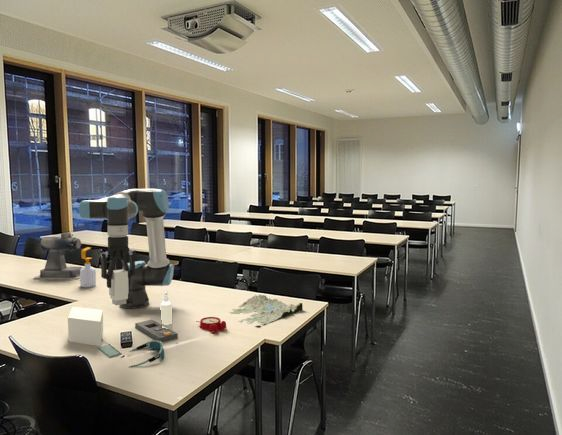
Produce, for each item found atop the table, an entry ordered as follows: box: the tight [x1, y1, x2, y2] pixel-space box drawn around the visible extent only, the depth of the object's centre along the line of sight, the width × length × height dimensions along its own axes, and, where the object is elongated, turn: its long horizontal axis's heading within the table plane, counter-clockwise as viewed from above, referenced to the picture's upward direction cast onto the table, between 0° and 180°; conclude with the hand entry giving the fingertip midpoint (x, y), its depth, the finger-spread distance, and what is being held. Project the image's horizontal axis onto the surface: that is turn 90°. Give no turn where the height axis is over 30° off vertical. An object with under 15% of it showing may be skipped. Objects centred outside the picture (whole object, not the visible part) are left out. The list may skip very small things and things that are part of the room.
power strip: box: [134, 319, 179, 343], centre depth 185 cm, size 30×8×4 cm, turn 43°
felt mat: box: [97, 343, 123, 358], centre depth 167 cm, size 12×12×1 cm
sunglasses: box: [120, 339, 165, 368], centre depth 159 cm, size 14×15×5 cm
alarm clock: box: [195, 316, 227, 334], centre depth 190 cm, size 10×6×15 cm
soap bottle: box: [79, 246, 97, 288], centre depth 266 cm, size 9×9×25 cm
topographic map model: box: [228, 294, 304, 329], centre depth 216 cm, size 36×29×5 cm
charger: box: [109, 268, 128, 306], centre depth 165 cm, size 5×5×13 cm
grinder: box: [32, 232, 83, 281], centre depth 291 cm, size 18×31×31 cm, turn 91°
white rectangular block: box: [67, 306, 104, 347], centre depth 179 cm, size 14×29×10 cm, turn 47°
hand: (119, 294), depth 165 cm, fingers closed on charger, 5 cm apart
